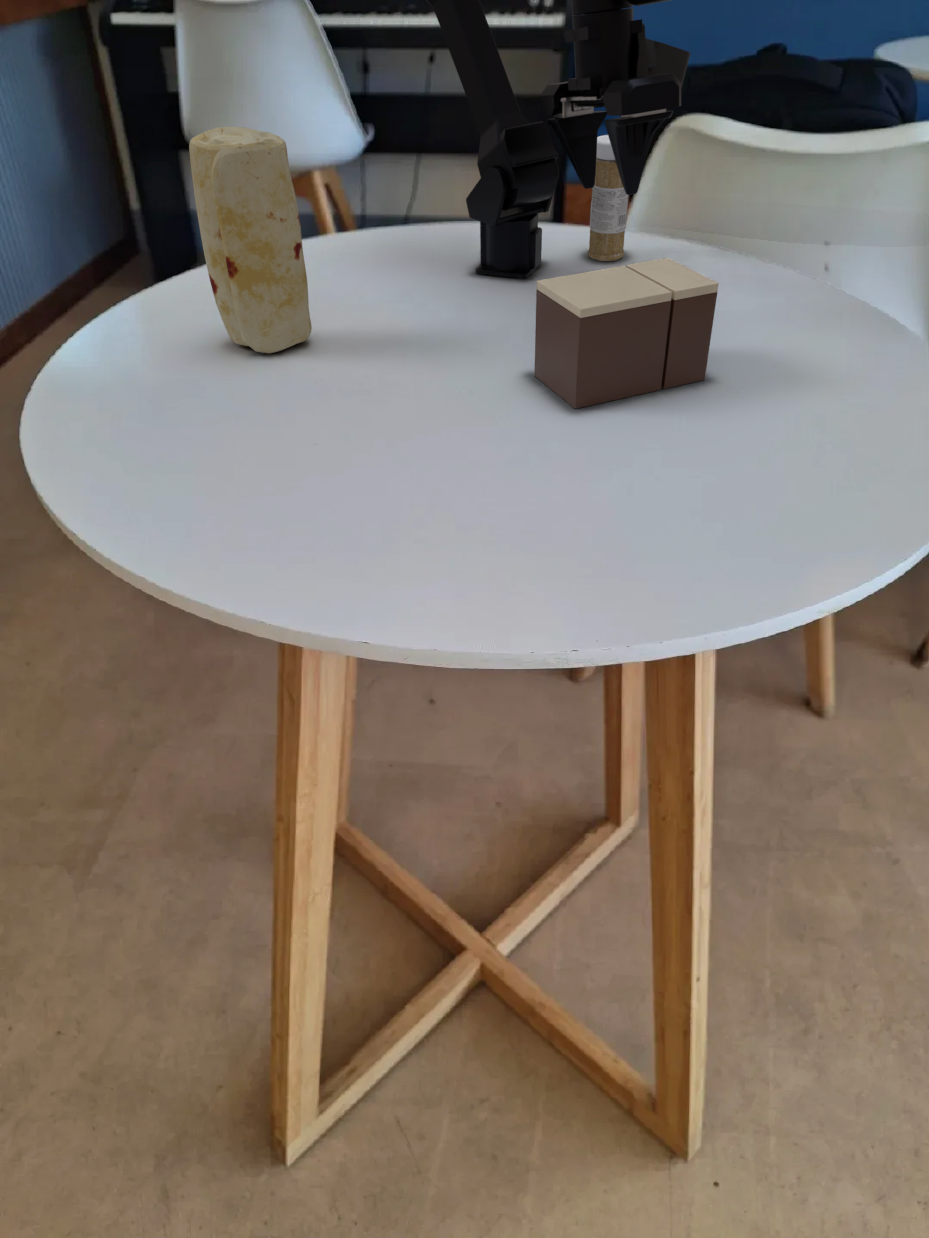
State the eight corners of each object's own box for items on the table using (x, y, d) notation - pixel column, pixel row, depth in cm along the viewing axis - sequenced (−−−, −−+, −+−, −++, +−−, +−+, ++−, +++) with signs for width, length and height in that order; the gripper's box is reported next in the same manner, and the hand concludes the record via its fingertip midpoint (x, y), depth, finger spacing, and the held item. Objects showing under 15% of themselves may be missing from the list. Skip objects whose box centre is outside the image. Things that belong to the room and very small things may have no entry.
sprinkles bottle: (605, 248, 119) (613, 131, 110) (631, 257, 116) (642, 137, 108) (579, 256, 116) (585, 137, 108) (606, 265, 114) (614, 143, 105)
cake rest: (534, 375, 89) (536, 280, 83) (615, 358, 91) (623, 265, 86) (575, 409, 83) (580, 309, 77) (661, 389, 86) (672, 291, 80)
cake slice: (618, 358, 92) (626, 264, 86) (657, 350, 93) (667, 257, 87) (663, 389, 86) (675, 291, 80) (704, 380, 87) (718, 283, 82)
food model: (319, 331, 99) (294, 121, 86) (308, 357, 93) (279, 136, 81) (228, 332, 99) (190, 123, 87) (212, 357, 94) (169, 138, 82)
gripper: (733, -8, 83) (729, 184, 91) (629, 11, 98) (633, 173, 106) (621, 7, 80) (627, 203, 88) (532, 24, 95) (544, 190, 103)
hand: (609, 191), depth 96 cm, fingers open, 9 cm apart
